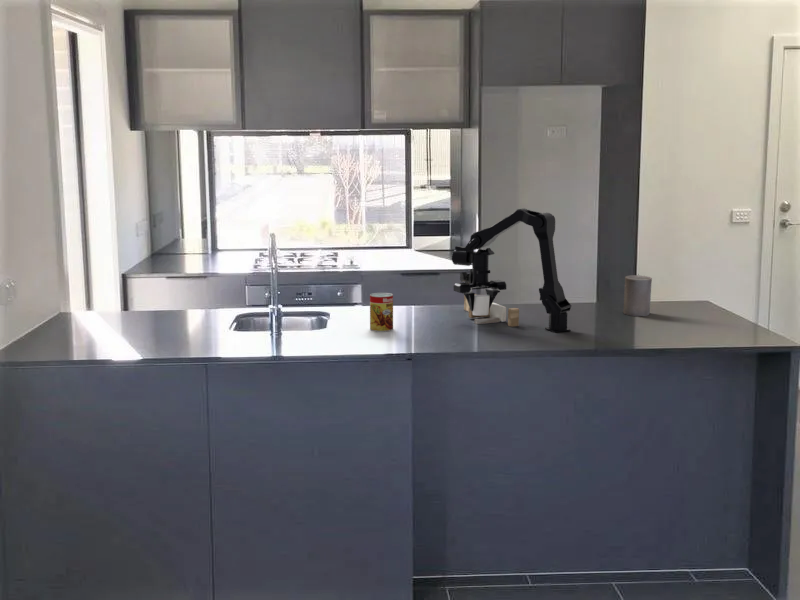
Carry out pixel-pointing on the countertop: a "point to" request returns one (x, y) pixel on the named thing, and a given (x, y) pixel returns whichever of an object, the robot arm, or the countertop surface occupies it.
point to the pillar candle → (637, 295)
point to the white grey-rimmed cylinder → (481, 305)
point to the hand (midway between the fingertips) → (479, 310)
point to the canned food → (381, 311)
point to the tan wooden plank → (512, 317)
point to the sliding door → (493, 312)
